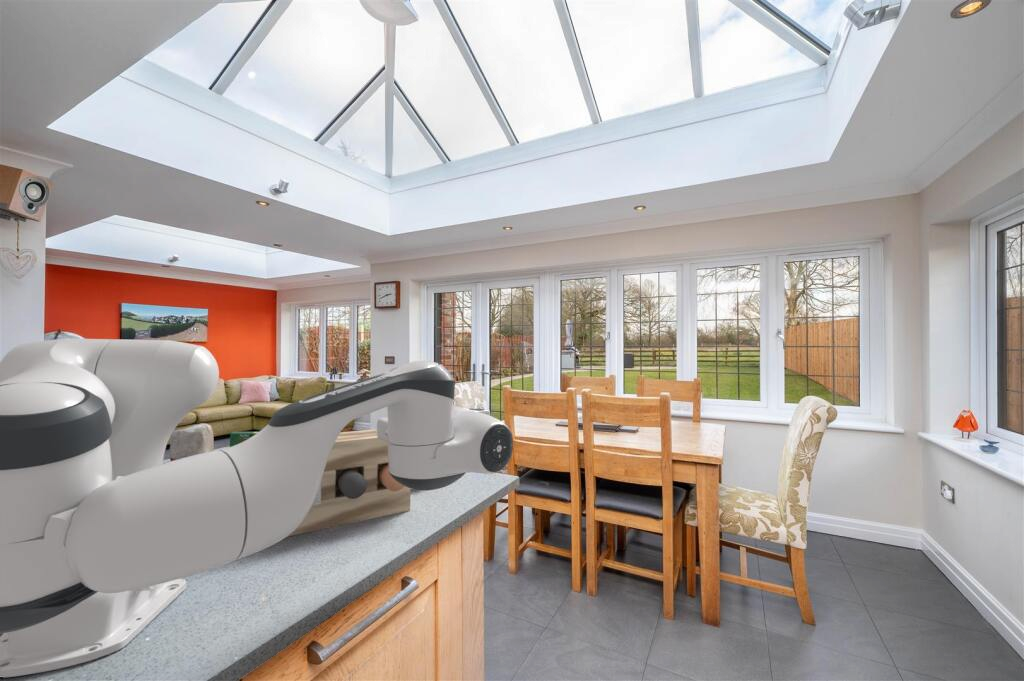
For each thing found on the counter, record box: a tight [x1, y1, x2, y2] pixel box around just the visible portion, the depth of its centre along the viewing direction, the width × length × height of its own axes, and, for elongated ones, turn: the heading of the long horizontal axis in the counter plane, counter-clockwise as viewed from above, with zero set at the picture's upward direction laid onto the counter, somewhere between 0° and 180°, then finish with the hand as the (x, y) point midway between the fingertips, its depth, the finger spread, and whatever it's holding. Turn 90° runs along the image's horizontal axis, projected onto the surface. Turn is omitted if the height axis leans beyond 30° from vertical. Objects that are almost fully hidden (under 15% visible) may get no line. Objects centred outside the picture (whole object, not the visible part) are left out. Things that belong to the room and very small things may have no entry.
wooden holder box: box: [287, 428, 412, 537], centre depth 98 cm, size 10×28×18 cm, turn 125°
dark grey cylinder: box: [337, 469, 367, 499], centre depth 93 cm, size 5×5×5 cm
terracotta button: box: [378, 464, 404, 491], centre depth 98 cm, size 5×5×5 cm
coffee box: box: [229, 431, 259, 447], centre depth 125 cm, size 8×3×13 cm, turn 103°
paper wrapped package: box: [168, 423, 215, 462], centre depth 98 cm, size 8×8×20 cm
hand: (417, 419), depth 87 cm, fingers closed
